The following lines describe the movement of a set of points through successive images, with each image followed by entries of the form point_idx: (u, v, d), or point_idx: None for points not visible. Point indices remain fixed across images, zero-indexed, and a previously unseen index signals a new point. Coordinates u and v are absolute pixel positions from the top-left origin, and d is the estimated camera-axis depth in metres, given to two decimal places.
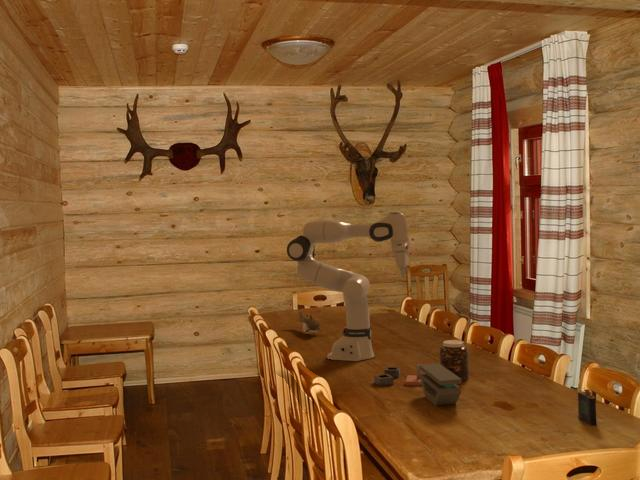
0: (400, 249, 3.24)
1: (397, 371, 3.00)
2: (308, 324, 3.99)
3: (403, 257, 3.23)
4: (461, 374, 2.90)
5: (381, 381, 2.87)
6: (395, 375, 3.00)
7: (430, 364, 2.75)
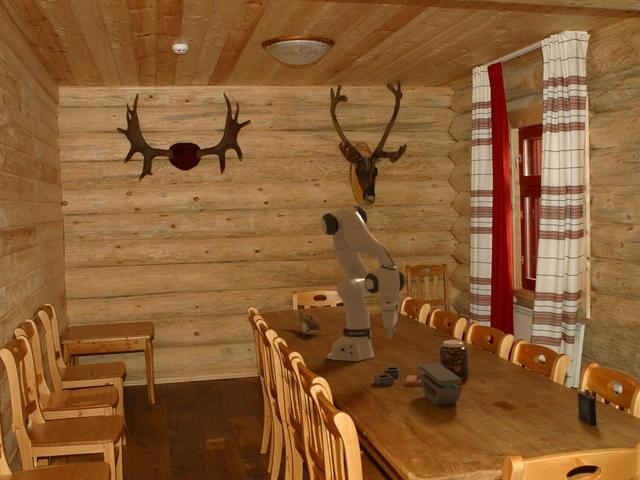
0: (389, 308, 2.93)
1: (397, 371, 3.00)
2: (308, 324, 3.99)
3: (391, 317, 2.92)
4: (461, 374, 2.90)
5: (381, 381, 2.87)
6: (395, 375, 3.00)
7: (430, 364, 2.75)
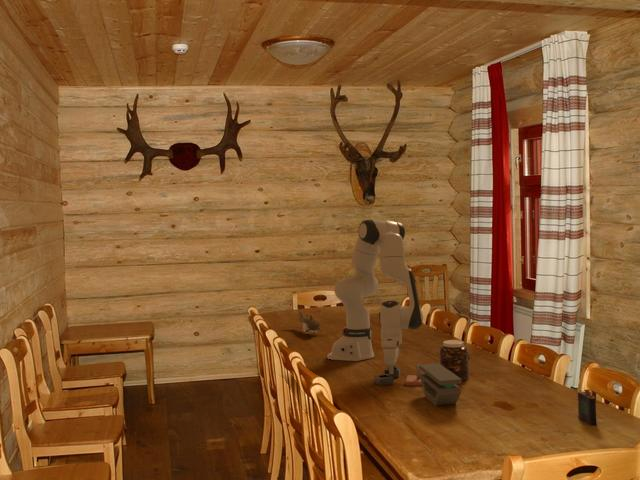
0: (390, 346, 2.94)
1: (397, 371, 3.00)
2: (308, 324, 3.99)
3: (392, 355, 2.93)
4: (461, 374, 2.90)
5: (381, 381, 2.87)
6: (395, 375, 3.00)
7: (430, 364, 2.75)
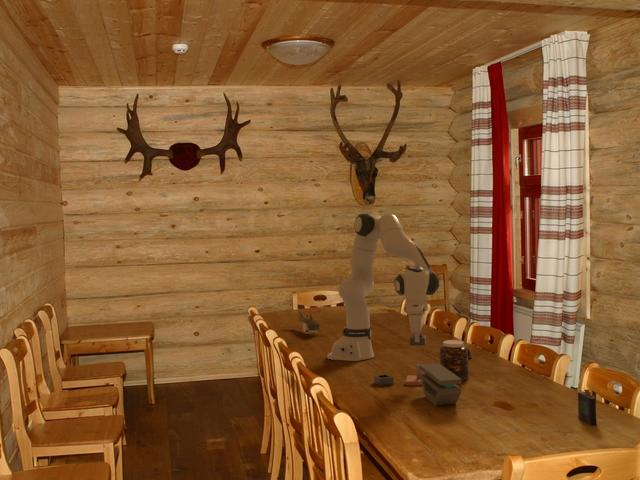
0: (416, 311, 2.80)
1: (423, 339, 2.86)
2: (308, 324, 3.99)
3: (419, 321, 2.79)
4: (461, 374, 2.90)
5: (381, 381, 2.87)
6: (421, 343, 2.87)
7: (430, 364, 2.75)
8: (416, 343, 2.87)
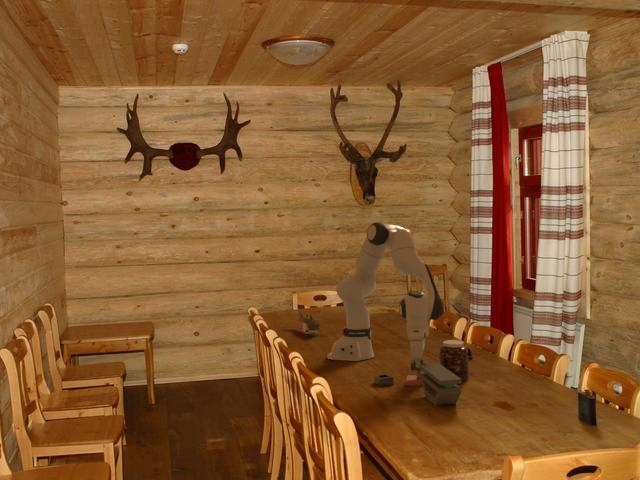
0: (417, 337, 2.81)
1: None
2: (308, 324, 3.99)
3: (420, 347, 2.80)
4: (461, 374, 2.90)
5: (381, 381, 2.87)
6: None
7: (430, 364, 2.75)
8: (417, 368, 2.88)
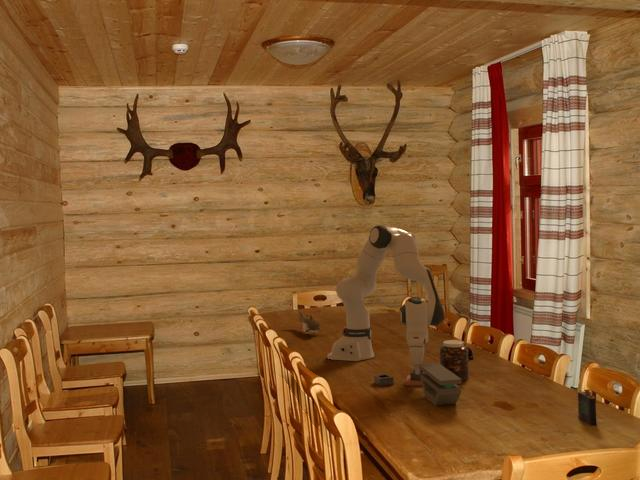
0: (417, 344, 2.81)
1: None
2: (308, 324, 3.99)
3: (419, 354, 2.80)
4: (461, 374, 2.90)
5: (381, 381, 2.87)
6: None
7: (430, 364, 2.75)
8: (416, 378, 2.88)
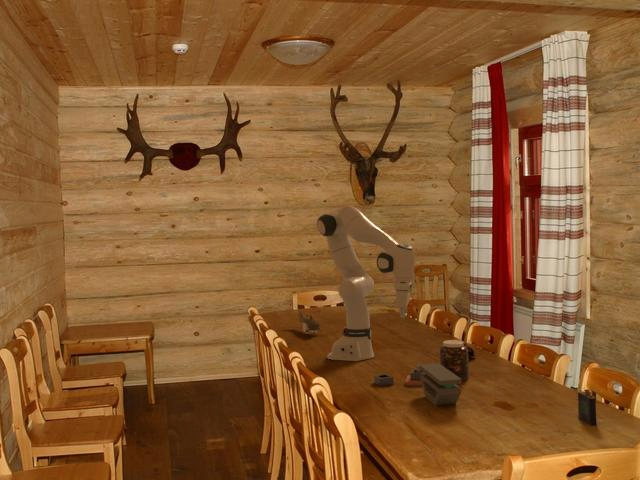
0: (403, 288, 2.92)
1: None
2: (308, 324, 3.99)
3: (405, 297, 2.92)
4: (461, 374, 2.90)
5: (381, 381, 2.87)
6: None
7: (430, 364, 2.75)
8: (416, 378, 2.88)
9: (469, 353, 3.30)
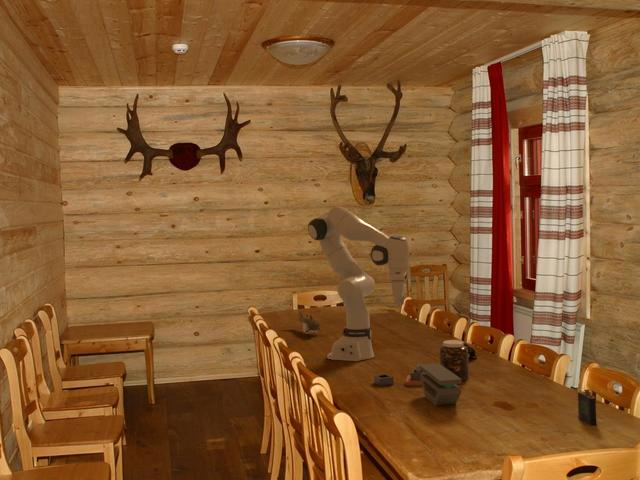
0: (398, 278, 2.95)
1: None
2: (308, 324, 3.99)
3: (401, 287, 2.94)
4: (461, 374, 2.90)
5: (381, 381, 2.87)
6: None
7: (430, 364, 2.75)
8: (416, 378, 2.88)
9: (470, 353, 3.30)
